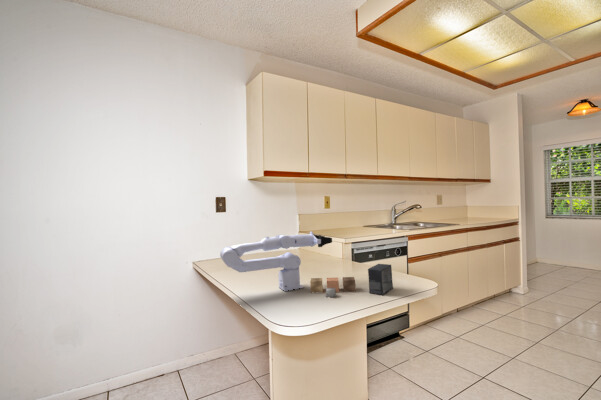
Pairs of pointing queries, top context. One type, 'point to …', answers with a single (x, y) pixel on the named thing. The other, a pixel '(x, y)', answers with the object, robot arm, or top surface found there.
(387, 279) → the small box
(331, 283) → the terracotta block
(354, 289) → the walnut block
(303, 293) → the top surface
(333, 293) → the grey tin
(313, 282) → the oak block
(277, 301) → the top surface
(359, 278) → the top surface
